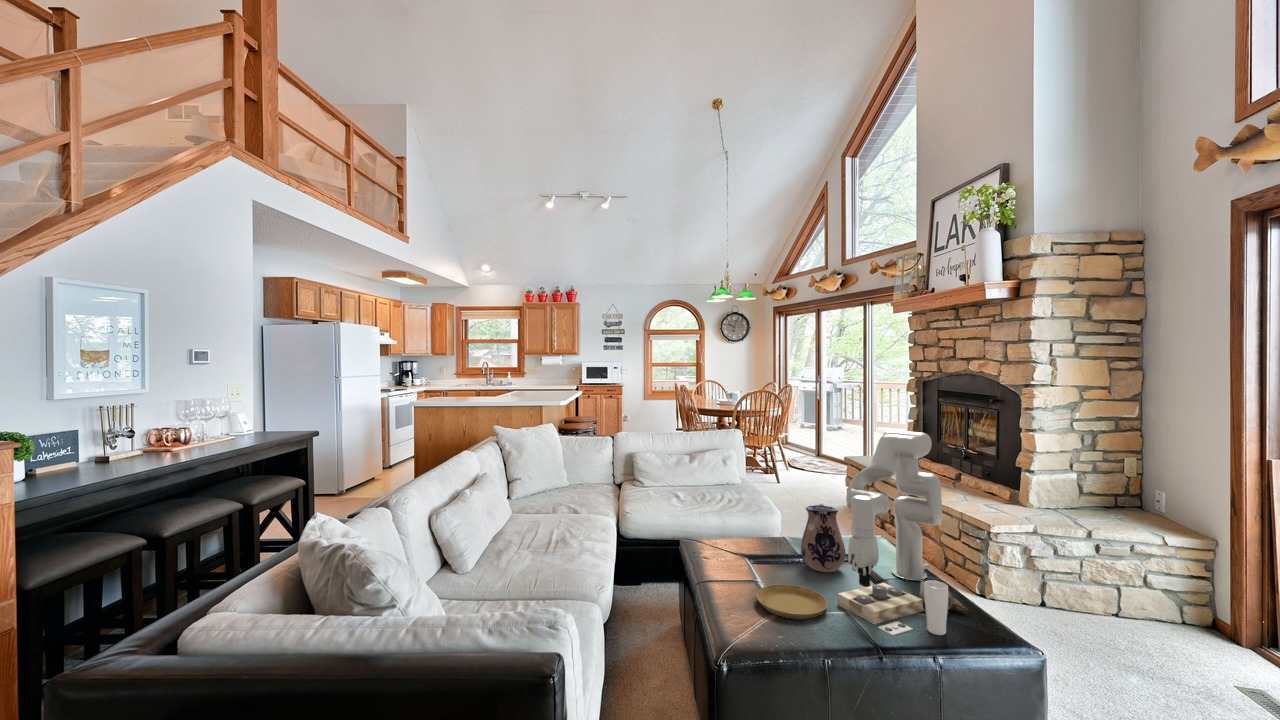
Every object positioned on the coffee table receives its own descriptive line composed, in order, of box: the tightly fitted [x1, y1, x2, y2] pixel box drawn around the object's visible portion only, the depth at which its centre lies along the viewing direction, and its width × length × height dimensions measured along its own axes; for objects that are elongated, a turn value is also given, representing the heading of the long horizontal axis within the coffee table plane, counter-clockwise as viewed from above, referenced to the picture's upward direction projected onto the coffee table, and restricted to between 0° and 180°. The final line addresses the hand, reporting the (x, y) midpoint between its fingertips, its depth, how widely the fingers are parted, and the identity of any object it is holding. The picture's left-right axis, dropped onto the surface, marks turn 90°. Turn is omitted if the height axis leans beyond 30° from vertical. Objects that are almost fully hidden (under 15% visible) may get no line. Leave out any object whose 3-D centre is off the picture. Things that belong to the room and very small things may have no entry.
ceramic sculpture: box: [919, 580, 969, 615], centre depth 187 cm, size 11×9×15 cm
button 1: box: [857, 595, 871, 605], centre depth 184 cm, size 5×5×5 cm
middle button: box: [871, 584, 887, 601], centre depth 187 cm, size 5×5×5 cm
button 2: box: [888, 586, 903, 597], centre depth 190 cm, size 5×5×5 cm
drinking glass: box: [924, 579, 949, 636], centre depth 170 cm, size 7×7×15 cm
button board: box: [837, 582, 924, 625], centre depth 187 cm, size 23×16×4 cm
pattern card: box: [877, 620, 914, 637], centre depth 172 cm, size 9×6×1 cm, turn 115°
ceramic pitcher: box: [800, 503, 847, 573], centre depth 226 cm, size 18×21×25 cm
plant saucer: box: [755, 583, 829, 620], centre depth 188 cm, size 24×24×3 cm
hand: (864, 585), depth 184 cm, fingers closed
